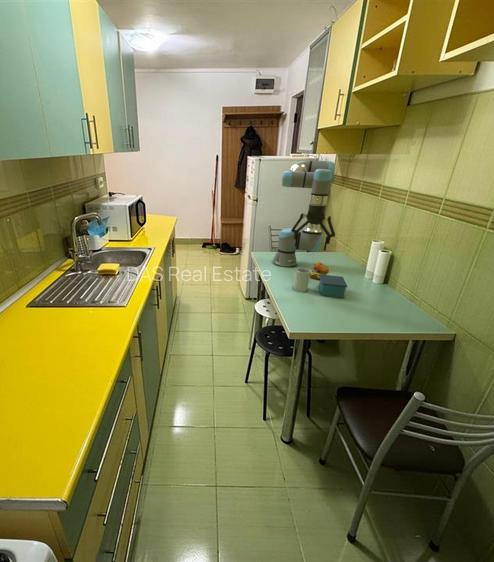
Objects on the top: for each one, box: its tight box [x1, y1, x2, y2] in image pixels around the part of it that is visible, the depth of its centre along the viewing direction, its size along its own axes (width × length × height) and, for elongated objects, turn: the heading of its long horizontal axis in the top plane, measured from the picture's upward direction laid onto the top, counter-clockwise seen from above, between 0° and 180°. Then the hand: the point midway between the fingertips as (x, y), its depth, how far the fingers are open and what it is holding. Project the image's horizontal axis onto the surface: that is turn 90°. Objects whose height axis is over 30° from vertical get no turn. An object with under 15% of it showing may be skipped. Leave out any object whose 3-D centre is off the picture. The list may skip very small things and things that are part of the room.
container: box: [318, 274, 348, 298], centre depth 163 cm, size 13×12×7 cm
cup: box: [292, 267, 311, 293], centre depth 165 cm, size 7×7×11 cm
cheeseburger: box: [309, 261, 330, 280], centre depth 182 cm, size 10×11×10 cm
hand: (310, 247), depth 150 cm, fingers open, 13 cm apart
